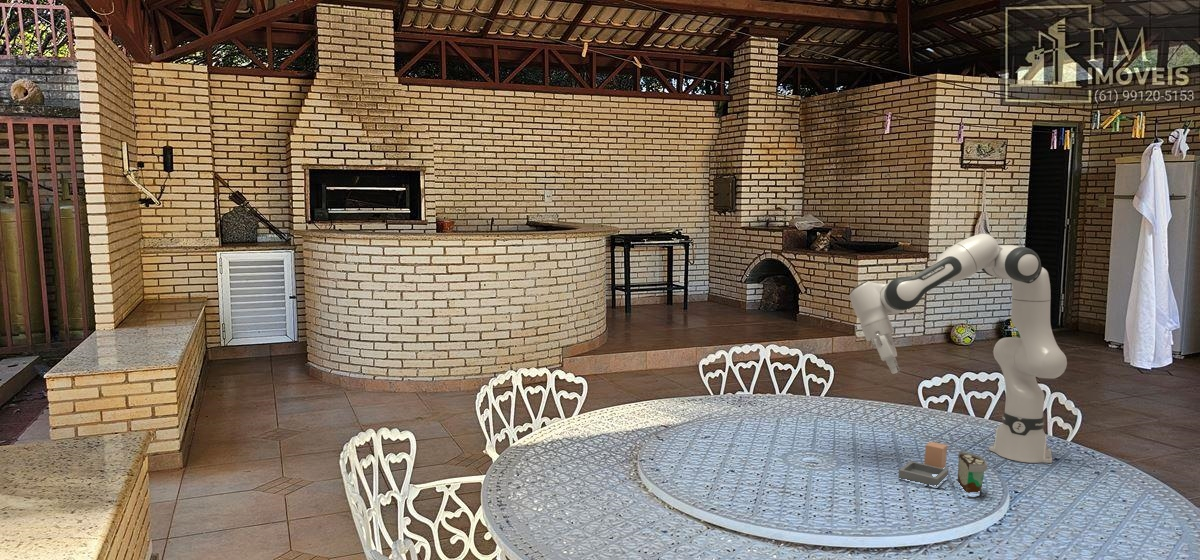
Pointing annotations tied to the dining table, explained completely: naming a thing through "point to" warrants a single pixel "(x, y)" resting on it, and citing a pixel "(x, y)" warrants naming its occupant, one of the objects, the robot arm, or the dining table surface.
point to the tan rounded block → (935, 454)
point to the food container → (971, 471)
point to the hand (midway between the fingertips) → (896, 372)
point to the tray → (922, 473)
